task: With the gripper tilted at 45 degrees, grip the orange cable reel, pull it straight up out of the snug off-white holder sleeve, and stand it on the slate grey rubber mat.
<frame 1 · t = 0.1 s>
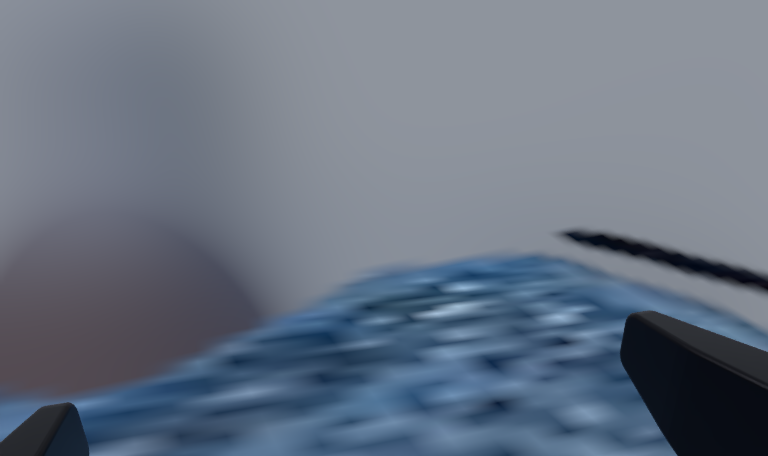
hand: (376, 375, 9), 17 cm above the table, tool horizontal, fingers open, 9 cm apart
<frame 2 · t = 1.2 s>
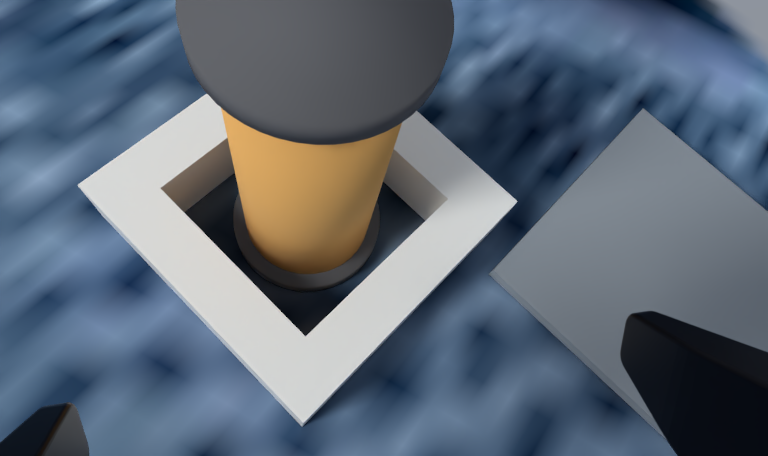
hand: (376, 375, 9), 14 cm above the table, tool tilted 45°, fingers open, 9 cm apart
grey mat: (670, 277, 26), on the table
holder sleeve: (307, 222, 25), on the table
cable reel: (311, 149, 19), in the holder sleeve
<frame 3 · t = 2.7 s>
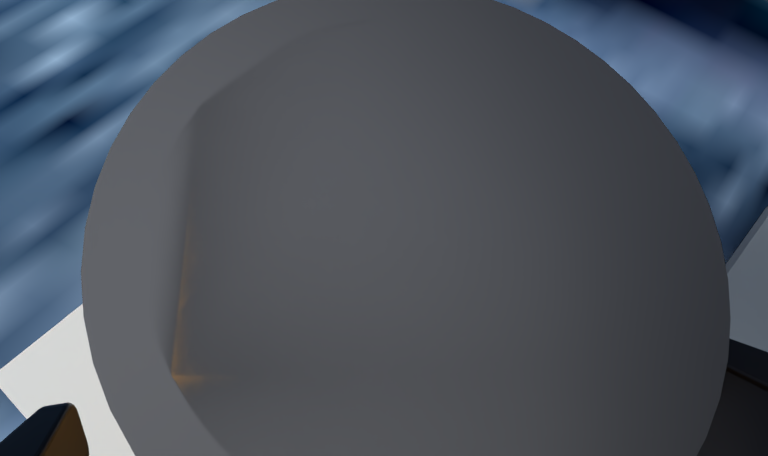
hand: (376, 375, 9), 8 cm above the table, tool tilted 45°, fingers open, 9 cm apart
holder sleeve: (336, 386, 17), on the table
cable reel: (358, 350, 11), in the holder sleeve
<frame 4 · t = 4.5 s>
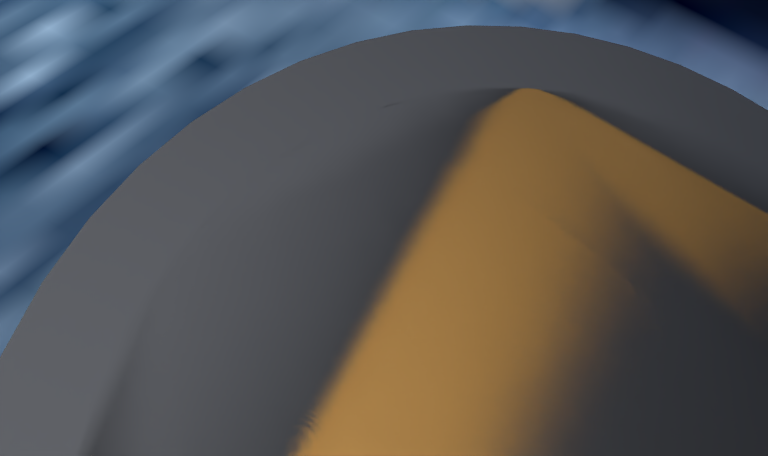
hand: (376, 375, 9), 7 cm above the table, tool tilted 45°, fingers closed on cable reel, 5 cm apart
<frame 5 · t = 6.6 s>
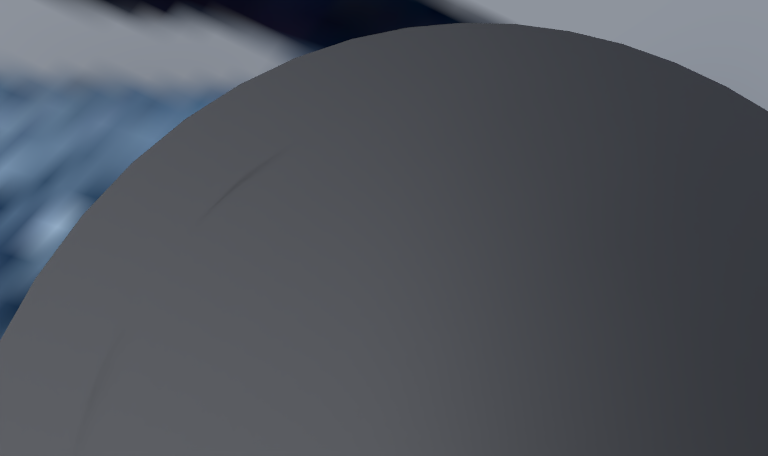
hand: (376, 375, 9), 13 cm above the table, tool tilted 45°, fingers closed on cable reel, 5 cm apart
when the fingers open (8 cm above the table, at t = 9.2 s): cable reel drops 1 cm, resting on grey mat.
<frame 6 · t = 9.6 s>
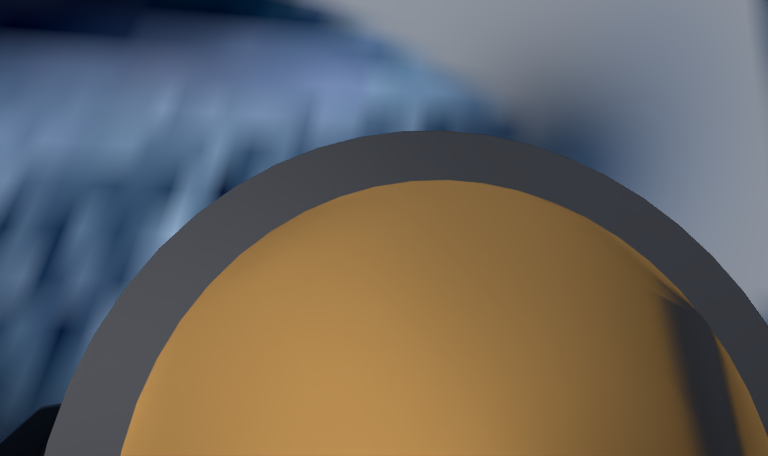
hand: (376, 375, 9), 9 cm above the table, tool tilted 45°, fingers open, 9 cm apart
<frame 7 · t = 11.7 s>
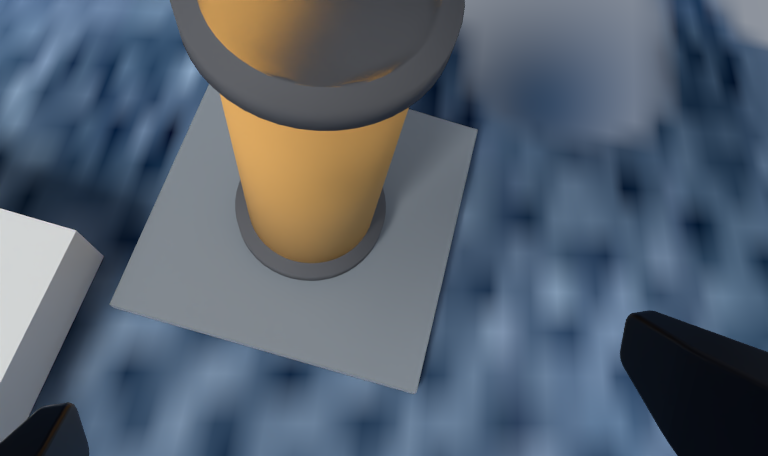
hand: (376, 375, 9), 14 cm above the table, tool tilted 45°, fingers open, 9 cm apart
grey mat: (311, 213, 25), on the table
cable reel: (314, 134, 18), on the grey mat, point 7 cm above the table
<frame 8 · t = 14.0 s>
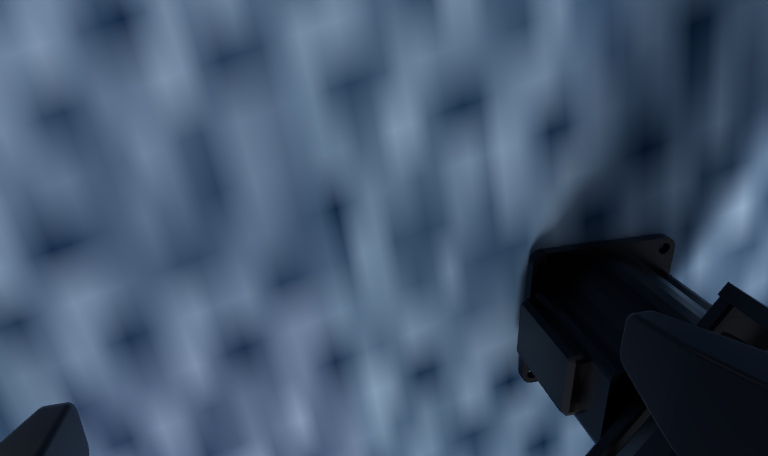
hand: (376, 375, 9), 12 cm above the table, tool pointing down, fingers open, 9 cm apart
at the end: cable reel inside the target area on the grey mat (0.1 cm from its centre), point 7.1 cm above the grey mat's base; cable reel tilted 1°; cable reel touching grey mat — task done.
